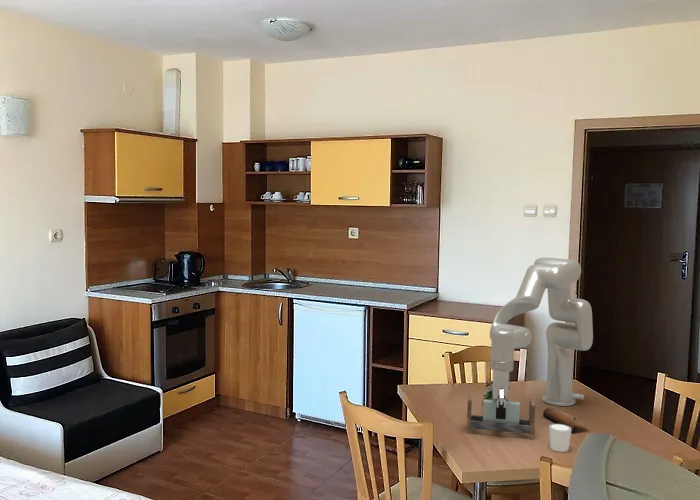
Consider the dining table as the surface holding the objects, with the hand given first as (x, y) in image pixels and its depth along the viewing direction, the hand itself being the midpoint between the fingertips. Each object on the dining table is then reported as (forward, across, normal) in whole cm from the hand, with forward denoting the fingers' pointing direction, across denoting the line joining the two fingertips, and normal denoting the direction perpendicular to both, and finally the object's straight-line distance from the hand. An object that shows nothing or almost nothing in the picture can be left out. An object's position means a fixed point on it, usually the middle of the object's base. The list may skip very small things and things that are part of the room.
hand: (500, 414), depth 216 cm
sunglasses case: (+7, -14, +24) cm, 29 cm away
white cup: (+6, +10, +18) cm, 22 cm away
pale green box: (+5, 0, 0) cm, 5 cm away
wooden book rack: (+6, 0, 0) cm, 6 cm away
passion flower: (+7, -29, 0) cm, 30 cm away
